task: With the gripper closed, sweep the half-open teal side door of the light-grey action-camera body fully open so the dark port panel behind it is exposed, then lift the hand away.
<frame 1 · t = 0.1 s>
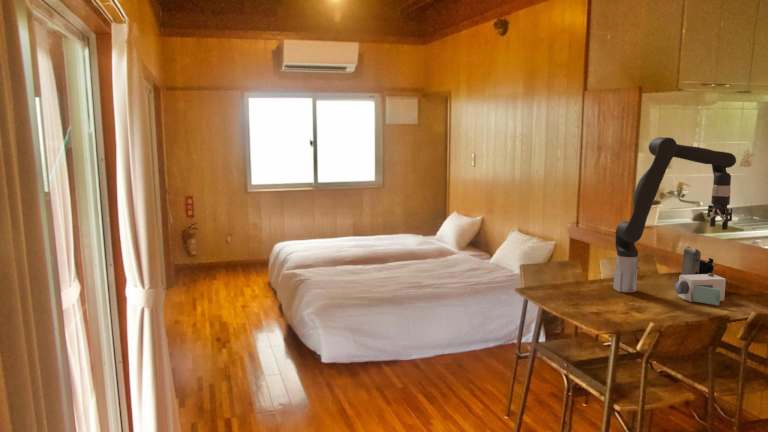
hand: (718, 228, 268), 29 cm above the table, fingers open, 8 cm apart
side door: (705, 295, 244), point 4 cm above the table, hinge at 45.0°
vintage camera: (700, 288, 271), on the table
camera body: (700, 298, 254), on the table
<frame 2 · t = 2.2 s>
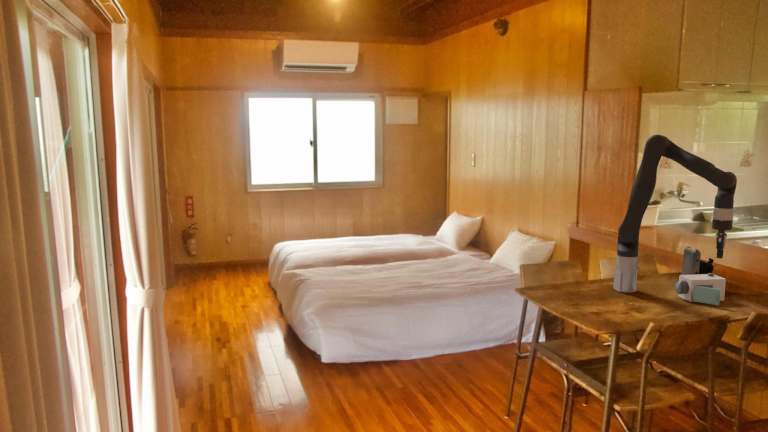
hand: (719, 257, 242), 21 cm above the table, fingers closed
nothing on the table moved.
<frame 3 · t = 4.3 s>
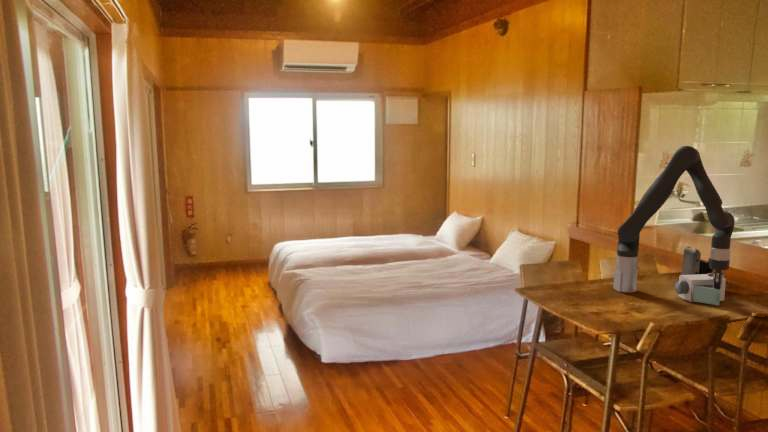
hand: (716, 296, 244), 4 cm above the table, fingers closed
side door: (705, 295, 244), point 4 cm above the table, hinge at 45.4°, touching gripper
everything else where it was.
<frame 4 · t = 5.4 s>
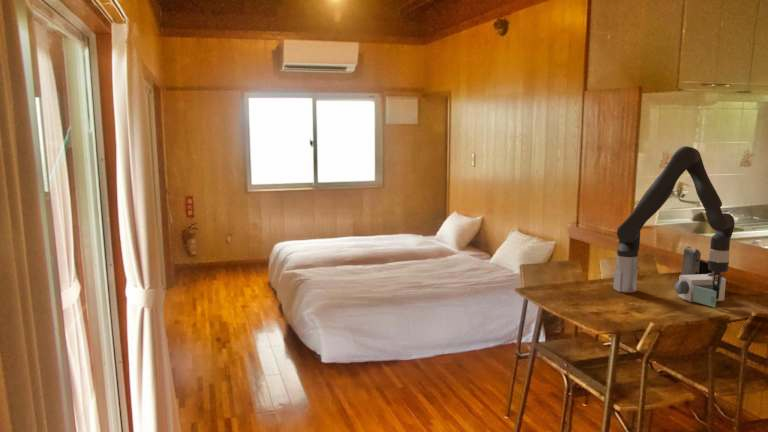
hand: (715, 298, 242), 4 cm above the table, fingers closed
side door: (703, 296, 243), point 4 cm above the table, hinge at 69.1°, touching gripper
everything else where it was.
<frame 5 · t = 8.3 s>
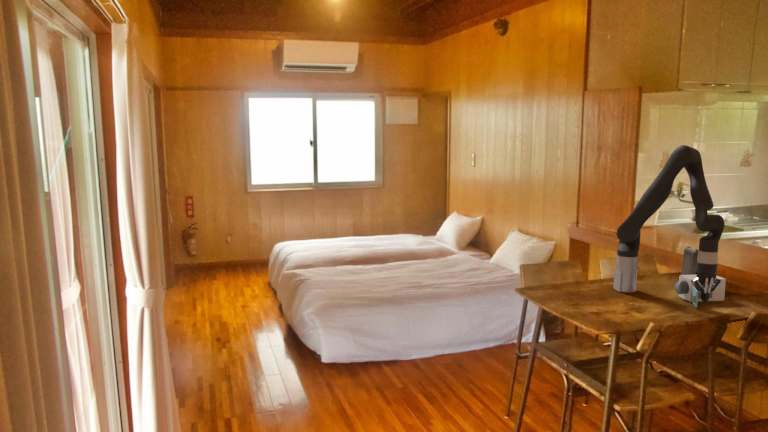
hand: (704, 300, 239), 4 cm above the table, fingers closed
side door: (693, 296, 243), point 4 cm above the table, hinge at 116.2°
everything else where it was.
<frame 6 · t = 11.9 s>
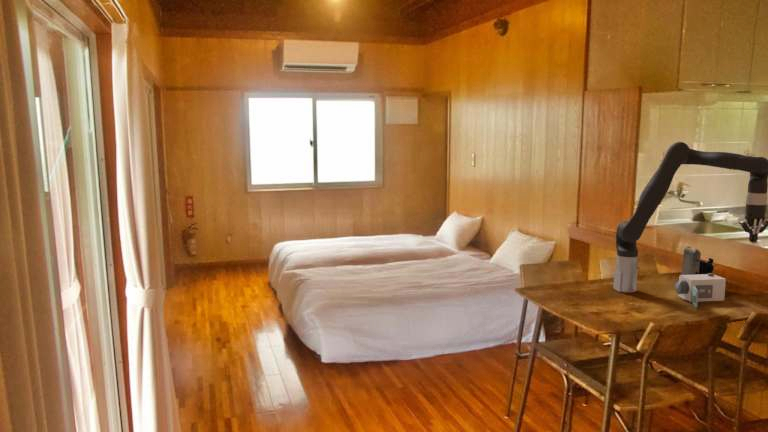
hand: (753, 242, 244), 27 cm above the table, fingers closed
nothing on the table moved.
at the end: side door at +116° (first picture: +45°) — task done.
